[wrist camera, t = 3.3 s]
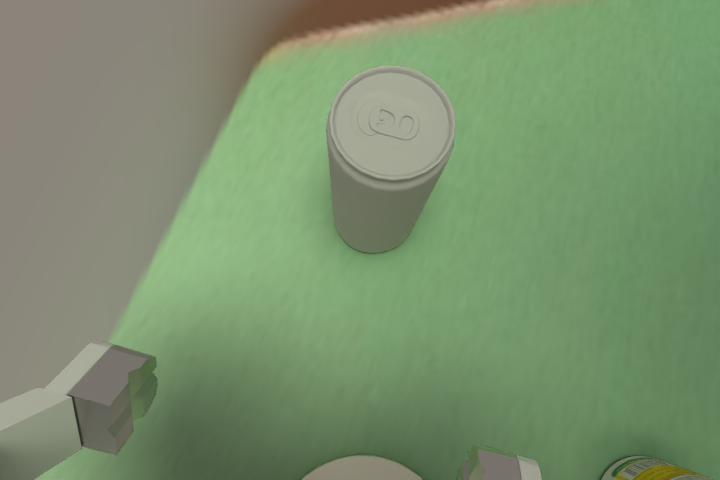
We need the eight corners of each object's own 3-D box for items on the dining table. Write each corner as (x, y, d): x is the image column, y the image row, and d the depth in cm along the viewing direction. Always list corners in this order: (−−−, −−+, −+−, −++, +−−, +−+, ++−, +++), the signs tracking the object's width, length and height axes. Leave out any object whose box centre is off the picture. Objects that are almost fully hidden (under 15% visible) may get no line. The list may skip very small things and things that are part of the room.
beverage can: (346, 172, 28) (346, 47, 17) (420, 192, 28) (472, 79, 16) (324, 244, 27) (308, 163, 15) (401, 265, 27) (443, 199, 15)
